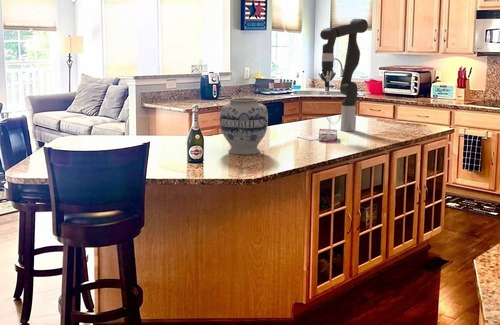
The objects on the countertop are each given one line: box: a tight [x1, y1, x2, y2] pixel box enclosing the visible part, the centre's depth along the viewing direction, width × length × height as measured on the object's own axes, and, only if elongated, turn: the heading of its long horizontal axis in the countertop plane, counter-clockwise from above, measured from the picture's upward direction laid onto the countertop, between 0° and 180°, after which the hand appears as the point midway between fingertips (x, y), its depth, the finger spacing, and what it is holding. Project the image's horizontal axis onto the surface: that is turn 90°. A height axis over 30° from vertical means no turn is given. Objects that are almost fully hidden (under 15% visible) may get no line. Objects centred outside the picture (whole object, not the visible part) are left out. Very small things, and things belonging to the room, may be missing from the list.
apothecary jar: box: [219, 97, 269, 156], centre depth 352 cm, size 27×27×30 cm
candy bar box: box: [318, 128, 338, 143], centre depth 396 cm, size 11×5×16 cm
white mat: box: [297, 134, 319, 141], centre depth 403 cm, size 16×14×1 cm
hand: (326, 87), depth 410 cm, fingers closed
